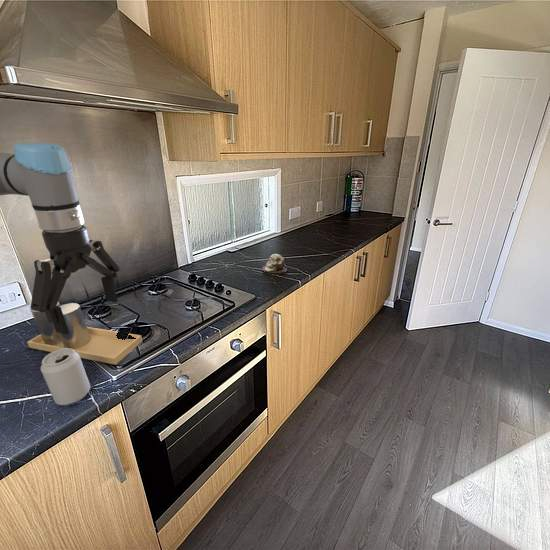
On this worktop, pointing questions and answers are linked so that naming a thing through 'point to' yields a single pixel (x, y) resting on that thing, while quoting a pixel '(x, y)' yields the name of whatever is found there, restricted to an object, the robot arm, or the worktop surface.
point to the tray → (96, 346)
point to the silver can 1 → (46, 328)
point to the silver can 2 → (74, 327)
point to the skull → (275, 264)
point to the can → (65, 376)
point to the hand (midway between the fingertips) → (89, 315)
